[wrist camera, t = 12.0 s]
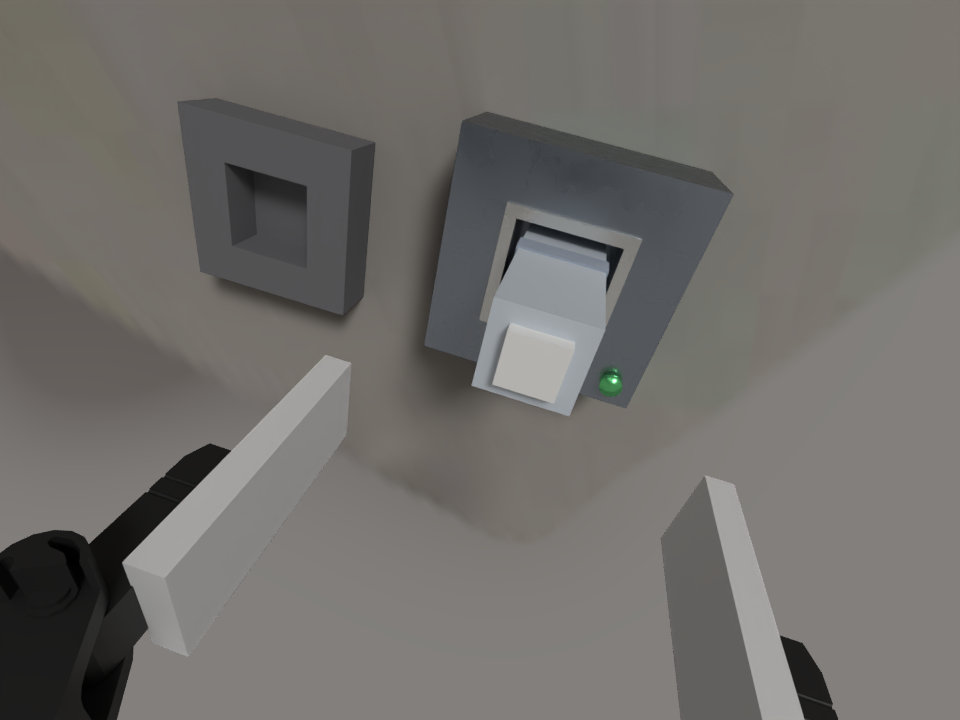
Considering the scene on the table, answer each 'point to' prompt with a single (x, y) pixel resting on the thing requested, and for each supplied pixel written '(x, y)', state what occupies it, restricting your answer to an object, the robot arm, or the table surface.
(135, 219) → the table surface
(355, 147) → the holster
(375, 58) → the table surface
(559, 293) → the plug
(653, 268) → the port
